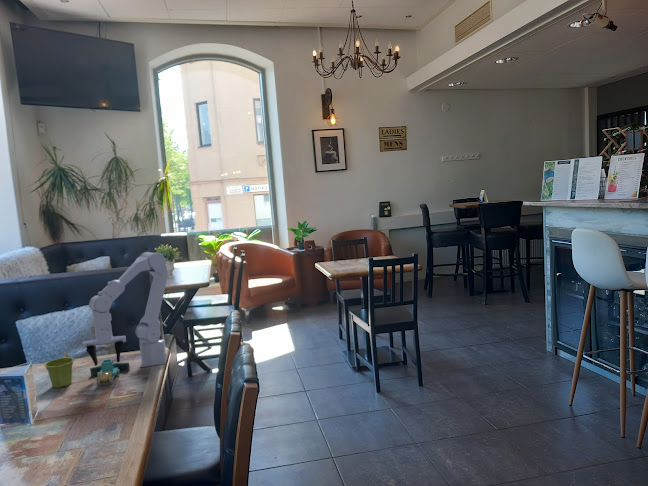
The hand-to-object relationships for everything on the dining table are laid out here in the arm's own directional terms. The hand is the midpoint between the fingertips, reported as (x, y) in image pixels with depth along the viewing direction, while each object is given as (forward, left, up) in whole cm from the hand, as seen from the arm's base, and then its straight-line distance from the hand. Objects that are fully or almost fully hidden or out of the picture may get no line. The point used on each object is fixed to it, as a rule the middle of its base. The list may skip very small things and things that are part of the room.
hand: (107, 363), depth 182 cm
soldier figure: (+21, -22, -6) cm, 31 cm away
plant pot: (+16, +1, -5) cm, 17 cm away
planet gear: (0, 0, -4) cm, 4 cm away
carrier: (0, +2, -5) cm, 5 cm away
